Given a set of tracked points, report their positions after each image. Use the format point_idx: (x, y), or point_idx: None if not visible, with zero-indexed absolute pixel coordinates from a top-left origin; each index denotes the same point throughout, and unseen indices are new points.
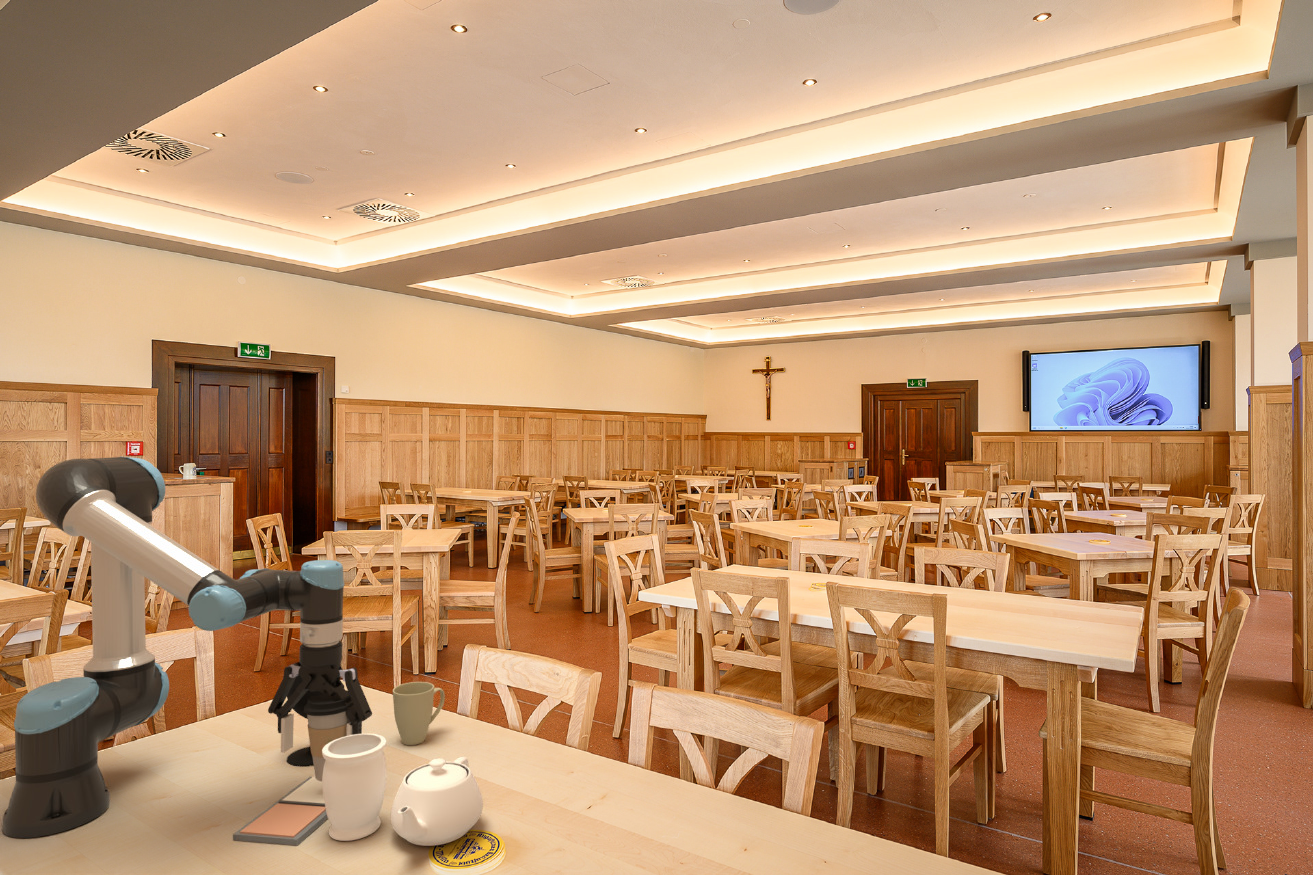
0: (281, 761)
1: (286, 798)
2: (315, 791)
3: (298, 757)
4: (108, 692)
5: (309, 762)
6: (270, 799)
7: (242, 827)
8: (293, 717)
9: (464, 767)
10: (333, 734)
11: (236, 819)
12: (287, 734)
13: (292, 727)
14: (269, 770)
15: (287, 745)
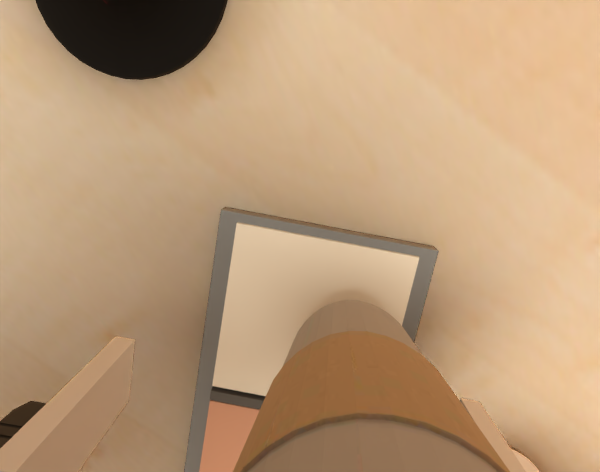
0: (29, 23)
1: (221, 372)
2: (294, 334)
3: (85, 14)
4: None
5: (152, 61)
6: (158, 323)
7: None
8: (34, 448)
9: None
10: None
11: (128, 427)
12: (88, 437)
13: (77, 411)
14: (31, 107)
15: (119, 394)
